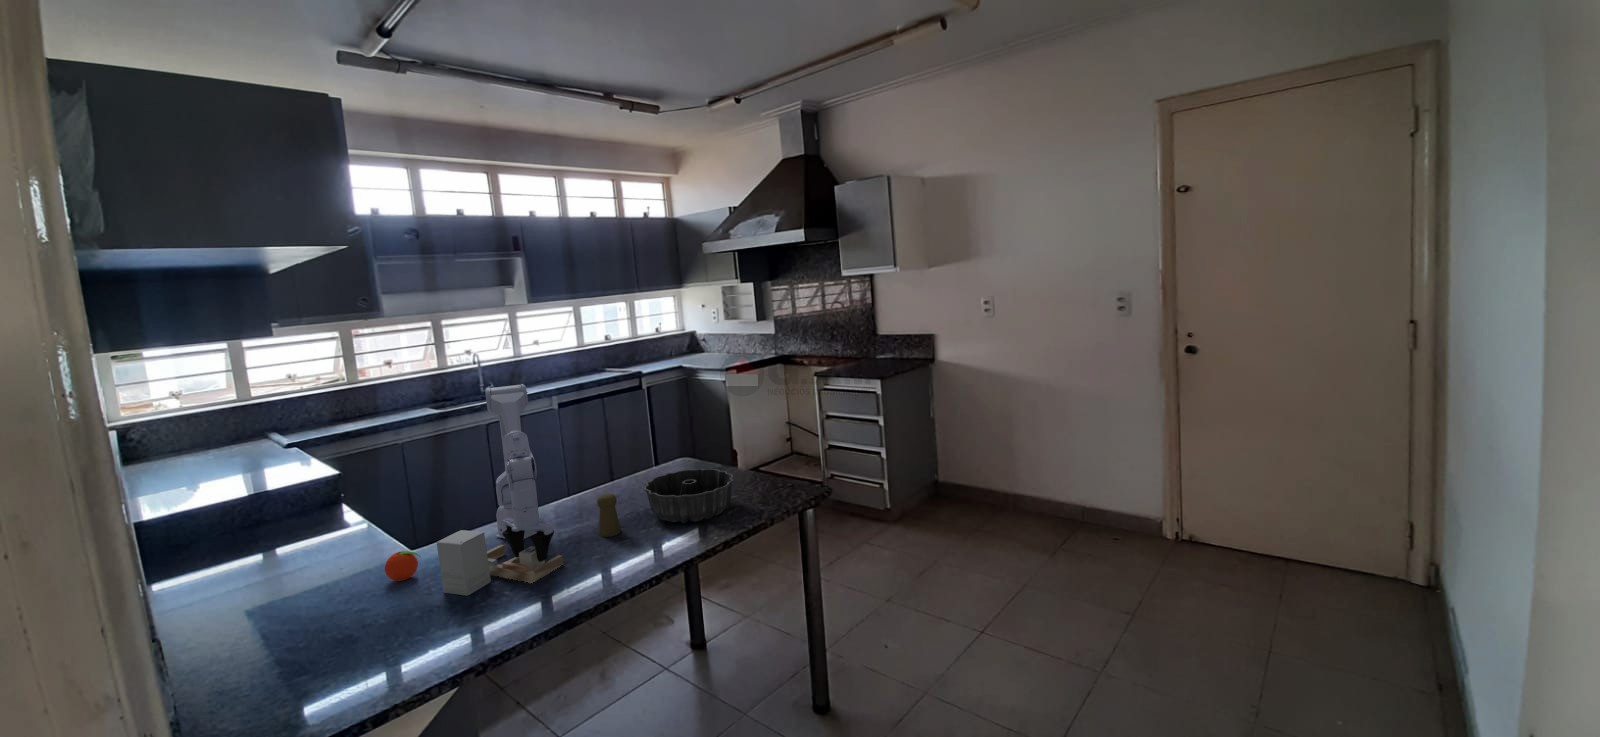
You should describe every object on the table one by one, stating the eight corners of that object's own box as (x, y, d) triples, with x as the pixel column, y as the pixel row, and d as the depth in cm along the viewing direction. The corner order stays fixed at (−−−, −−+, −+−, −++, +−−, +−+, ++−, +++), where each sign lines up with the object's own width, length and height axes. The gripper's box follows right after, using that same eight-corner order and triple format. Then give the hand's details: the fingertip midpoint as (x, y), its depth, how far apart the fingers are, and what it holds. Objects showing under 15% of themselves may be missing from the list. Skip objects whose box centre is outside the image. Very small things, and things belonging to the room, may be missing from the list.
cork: (617, 536, 177) (613, 498, 176) (595, 537, 178) (591, 499, 176) (623, 527, 183) (620, 490, 182) (602, 528, 184) (599, 491, 182)
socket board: (468, 570, 160) (466, 556, 160) (502, 553, 170) (500, 540, 169) (531, 583, 152) (529, 568, 151) (563, 565, 161) (561, 551, 161)
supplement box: (492, 581, 154) (485, 531, 152) (467, 596, 147) (460, 544, 145) (468, 578, 156) (461, 528, 154) (442, 593, 149) (435, 541, 148)
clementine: (427, 570, 162) (423, 543, 161) (420, 582, 155) (416, 554, 154) (391, 575, 160) (387, 548, 159) (382, 588, 153) (378, 560, 152)
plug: (521, 572, 159) (518, 550, 158) (533, 564, 162) (531, 543, 161) (533, 574, 157) (530, 552, 156) (545, 567, 161) (543, 545, 160)
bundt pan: (643, 505, 202) (640, 474, 200) (726, 492, 209) (724, 463, 208) (650, 536, 177) (647, 501, 175) (744, 521, 184) (742, 487, 183)
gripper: (489, 507, 156) (496, 560, 158) (534, 514, 150) (540, 569, 152) (513, 498, 162) (519, 548, 164) (557, 504, 157) (562, 556, 159)
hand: (531, 557), depth 159 cm, fingers open, 7 cm apart
